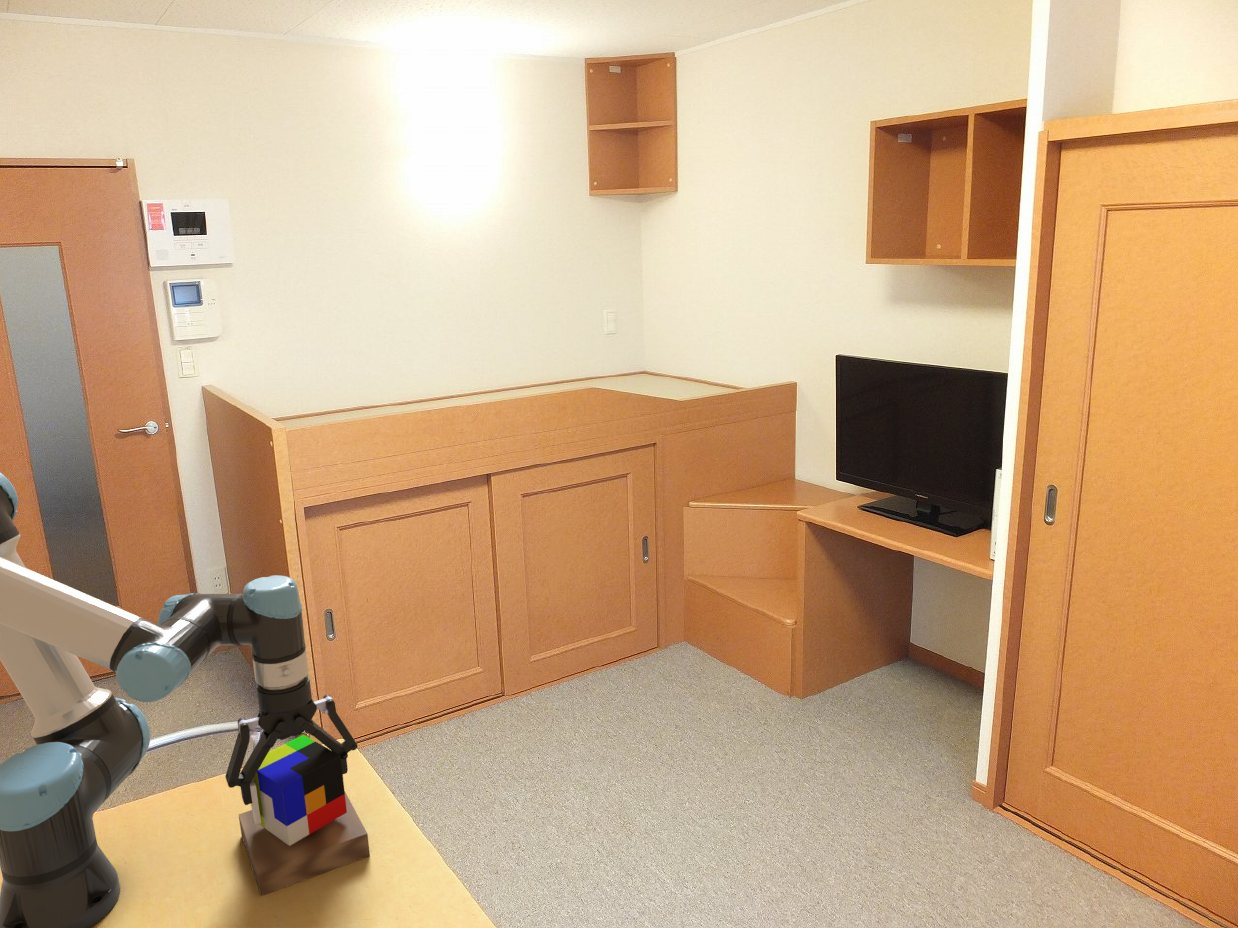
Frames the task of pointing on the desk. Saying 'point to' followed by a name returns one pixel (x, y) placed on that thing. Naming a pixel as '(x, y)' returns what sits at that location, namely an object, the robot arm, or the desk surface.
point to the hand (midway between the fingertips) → (298, 805)
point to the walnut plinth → (303, 850)
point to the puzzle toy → (299, 789)
